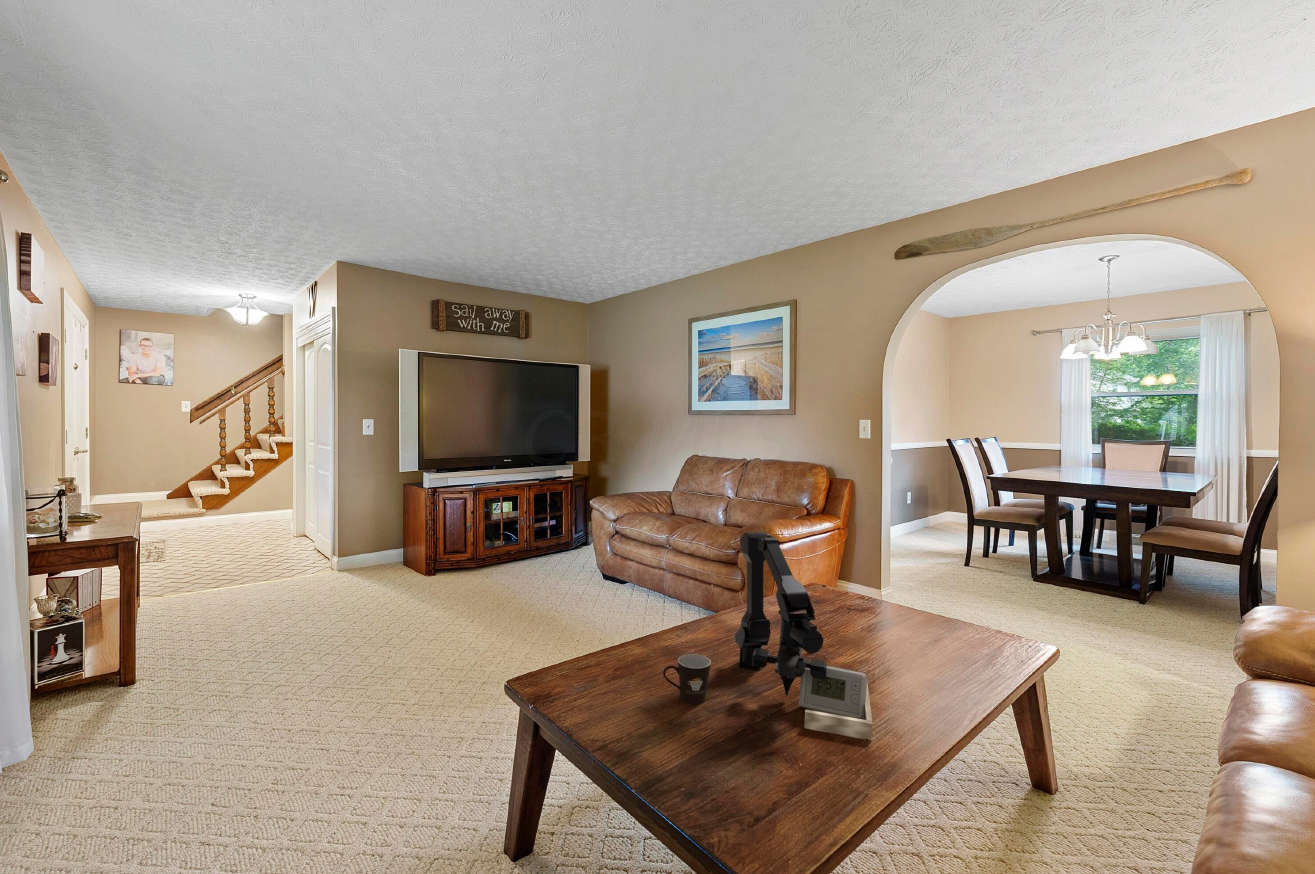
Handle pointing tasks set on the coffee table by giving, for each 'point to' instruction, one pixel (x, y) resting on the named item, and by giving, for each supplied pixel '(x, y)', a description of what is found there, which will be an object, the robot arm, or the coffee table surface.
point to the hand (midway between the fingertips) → (786, 694)
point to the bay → (841, 722)
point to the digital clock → (835, 692)
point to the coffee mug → (692, 677)
